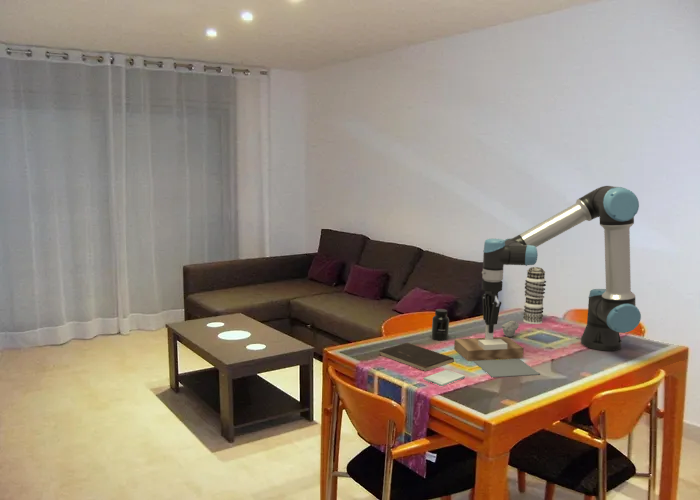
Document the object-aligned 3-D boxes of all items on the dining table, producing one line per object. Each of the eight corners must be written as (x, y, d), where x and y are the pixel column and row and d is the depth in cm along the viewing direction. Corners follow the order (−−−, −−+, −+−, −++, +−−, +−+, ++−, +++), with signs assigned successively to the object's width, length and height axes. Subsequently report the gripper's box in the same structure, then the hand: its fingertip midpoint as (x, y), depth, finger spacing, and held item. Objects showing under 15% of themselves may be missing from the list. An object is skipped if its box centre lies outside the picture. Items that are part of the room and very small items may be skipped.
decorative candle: (544, 325, 274) (547, 270, 270) (522, 323, 276) (526, 269, 272) (542, 319, 283) (546, 266, 279) (522, 318, 285) (525, 265, 281)
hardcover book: (425, 373, 214) (425, 367, 214) (379, 356, 231) (379, 350, 230) (453, 363, 225) (454, 357, 224) (407, 347, 241) (408, 342, 241)
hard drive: (446, 369, 214) (422, 377, 206) (465, 375, 208) (441, 384, 200) (446, 373, 214) (422, 381, 206) (464, 380, 208) (441, 388, 200)
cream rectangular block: (500, 343, 233) (500, 338, 233) (507, 349, 227) (507, 343, 227) (478, 344, 231) (478, 339, 231) (484, 350, 226) (484, 344, 225)
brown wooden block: (506, 346, 243) (507, 336, 242) (522, 358, 229) (523, 347, 229) (454, 348, 239) (454, 339, 238) (467, 361, 225) (468, 350, 225)
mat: (519, 359, 228) (519, 358, 228) (540, 374, 213) (540, 373, 213) (473, 361, 225) (473, 361, 225) (491, 377, 209) (491, 376, 209)
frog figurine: (518, 339, 252) (519, 323, 251) (500, 338, 254) (501, 321, 253) (518, 335, 258) (519, 319, 257) (501, 333, 260) (502, 317, 259)
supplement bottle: (440, 341, 247) (441, 313, 246) (428, 337, 253) (429, 309, 251) (451, 338, 252) (452, 310, 250) (439, 334, 257) (440, 307, 255)
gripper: (476, 276, 235) (473, 335, 238) (489, 284, 222) (486, 346, 226) (494, 276, 236) (491, 334, 240) (509, 283, 223) (505, 345, 227)
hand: (488, 340), depth 233 cm, fingers closed
